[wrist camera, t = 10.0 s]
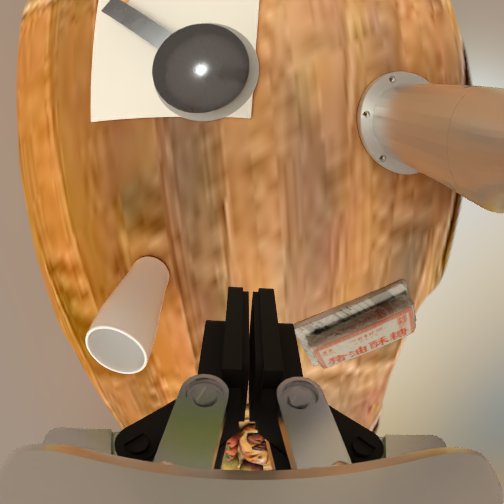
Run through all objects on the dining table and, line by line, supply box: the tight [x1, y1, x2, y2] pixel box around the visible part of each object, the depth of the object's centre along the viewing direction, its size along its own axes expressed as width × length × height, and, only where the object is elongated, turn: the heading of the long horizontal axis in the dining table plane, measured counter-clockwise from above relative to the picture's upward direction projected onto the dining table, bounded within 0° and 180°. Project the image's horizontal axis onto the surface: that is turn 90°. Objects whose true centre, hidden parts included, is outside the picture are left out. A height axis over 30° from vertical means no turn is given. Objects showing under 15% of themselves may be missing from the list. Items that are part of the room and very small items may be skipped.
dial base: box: [91, 0, 259, 122], centre depth 26 cm, size 18×18×2 cm
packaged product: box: [294, 279, 416, 368], centre depth 43 cm, size 18×5×10 cm
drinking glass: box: [85, 256, 170, 374], centre depth 33 cm, size 7×7×15 cm
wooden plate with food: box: [222, 404, 272, 471], centre depth 58 cm, size 32×32×8 cm
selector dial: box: [101, 0, 249, 113], centre depth 24 cm, size 18×9×3 cm, turn 47°
